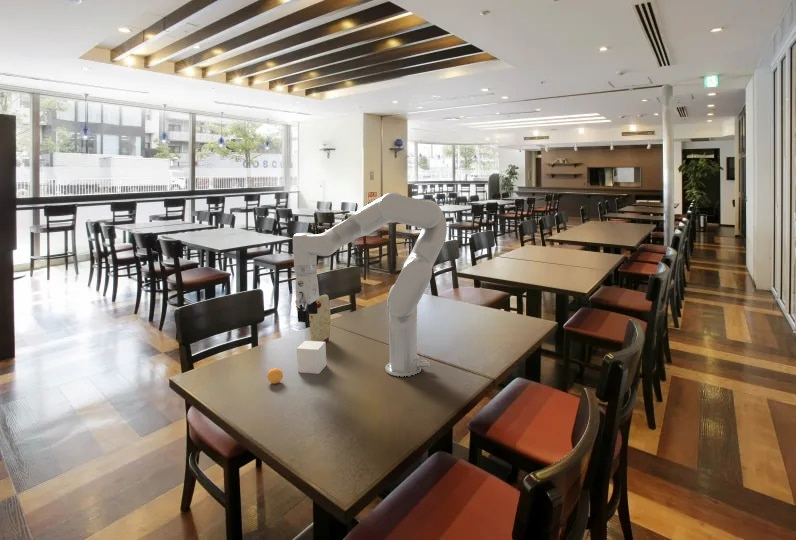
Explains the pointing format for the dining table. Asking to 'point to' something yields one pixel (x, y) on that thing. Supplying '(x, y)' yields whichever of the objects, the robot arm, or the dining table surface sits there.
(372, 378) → the dining table surface
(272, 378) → the ball
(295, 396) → the dining table surface
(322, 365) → the off-white matte cube
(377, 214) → the robot arm
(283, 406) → the dining table surface
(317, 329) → the food model
